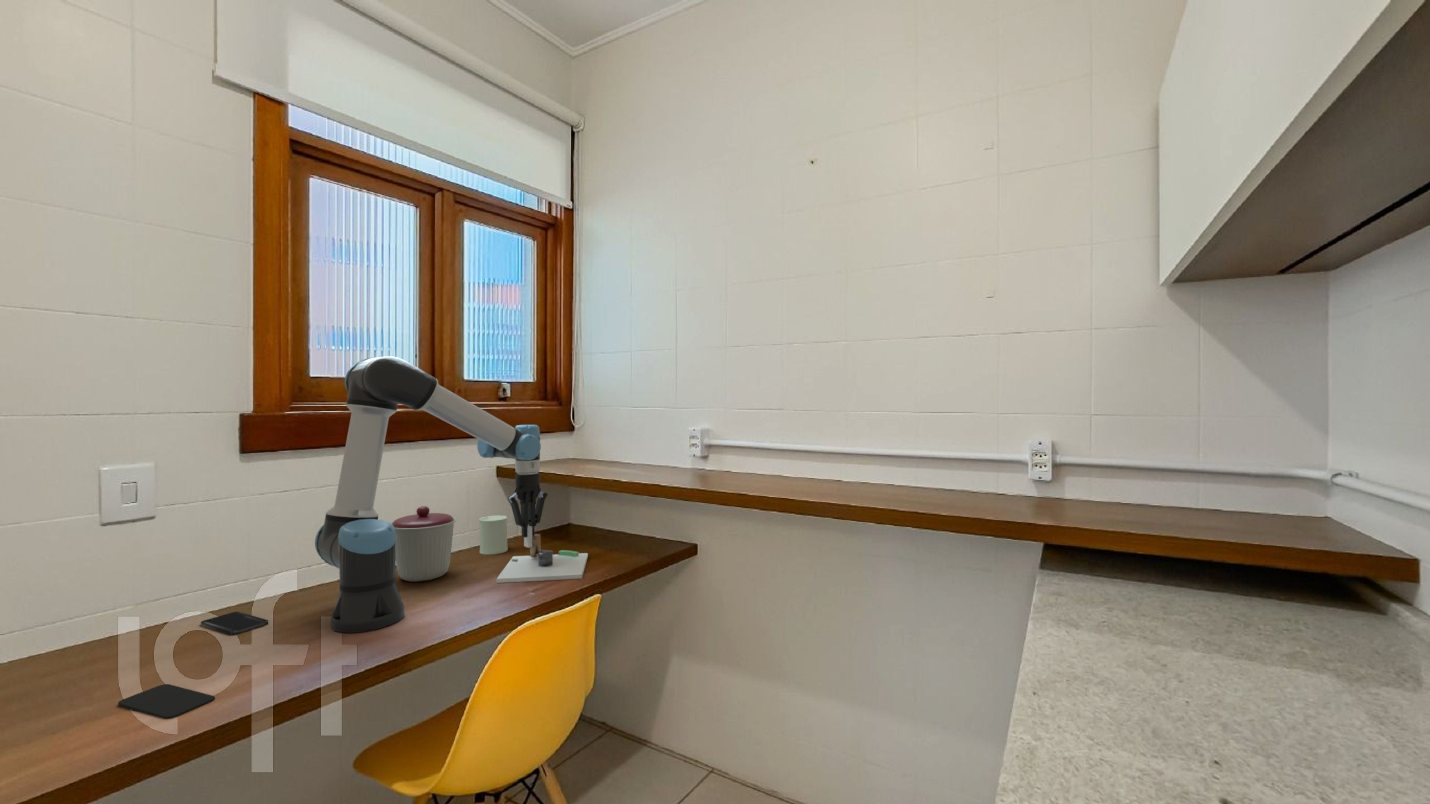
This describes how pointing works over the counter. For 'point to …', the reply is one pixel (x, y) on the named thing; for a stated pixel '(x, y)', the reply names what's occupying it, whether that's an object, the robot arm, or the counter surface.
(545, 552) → the lever
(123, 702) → the phone
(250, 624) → the phone
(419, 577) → the canister
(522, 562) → the dial plate
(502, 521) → the can
